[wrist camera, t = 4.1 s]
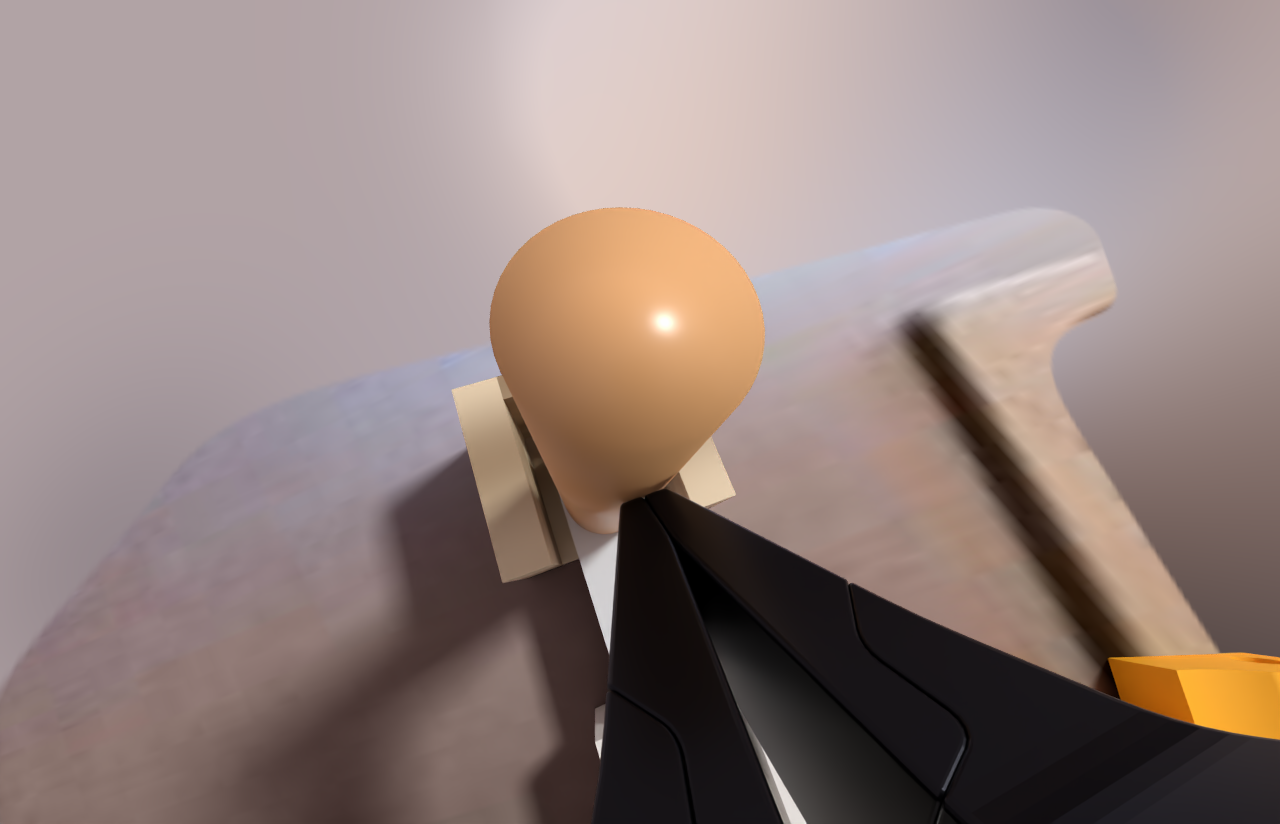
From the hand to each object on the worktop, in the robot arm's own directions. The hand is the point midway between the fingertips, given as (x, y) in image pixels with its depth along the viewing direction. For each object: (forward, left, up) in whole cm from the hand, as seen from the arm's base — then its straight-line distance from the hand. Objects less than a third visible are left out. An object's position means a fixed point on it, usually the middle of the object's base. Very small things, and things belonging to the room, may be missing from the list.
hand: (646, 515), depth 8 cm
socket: (+3, -1, -11) cm, 11 cm away
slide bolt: (-2, +1, -10) cm, 10 cm away
